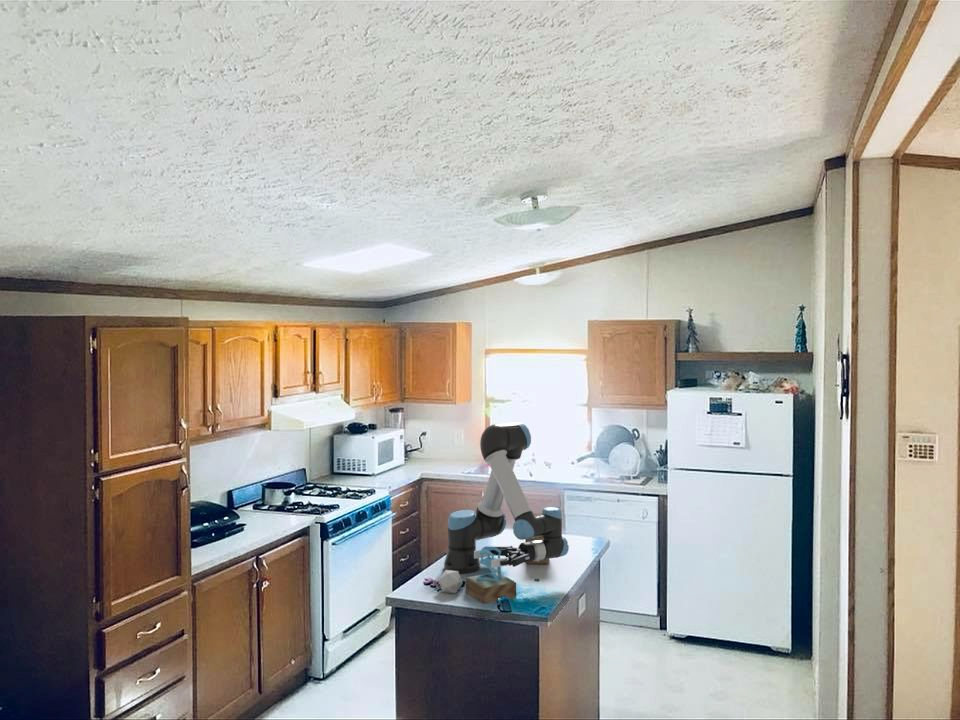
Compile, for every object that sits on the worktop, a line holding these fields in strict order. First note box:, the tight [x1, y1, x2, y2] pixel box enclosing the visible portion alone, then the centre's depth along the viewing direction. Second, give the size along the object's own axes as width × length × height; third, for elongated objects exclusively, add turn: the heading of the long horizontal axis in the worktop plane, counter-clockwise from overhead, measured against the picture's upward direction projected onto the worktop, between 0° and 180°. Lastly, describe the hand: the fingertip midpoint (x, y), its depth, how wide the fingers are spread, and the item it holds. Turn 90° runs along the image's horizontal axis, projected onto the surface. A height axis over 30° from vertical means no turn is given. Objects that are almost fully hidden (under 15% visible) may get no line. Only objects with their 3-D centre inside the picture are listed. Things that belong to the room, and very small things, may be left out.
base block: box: [465, 571, 517, 605], centre depth 287 cm, size 14×14×6 cm
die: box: [437, 569, 464, 594], centre depth 292 cm, size 8×9×10 cm
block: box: [524, 512, 550, 565], centre depth 330 cm, size 10×10×20 cm
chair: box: [476, 546, 503, 582], centre depth 287 cm, size 8×8×12 cm
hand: (482, 559), depth 285 cm, fingers open, 13 cm apart
